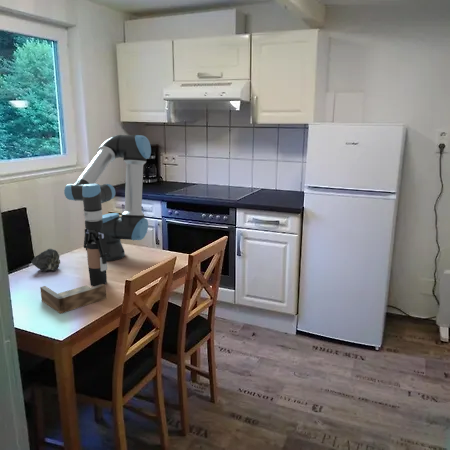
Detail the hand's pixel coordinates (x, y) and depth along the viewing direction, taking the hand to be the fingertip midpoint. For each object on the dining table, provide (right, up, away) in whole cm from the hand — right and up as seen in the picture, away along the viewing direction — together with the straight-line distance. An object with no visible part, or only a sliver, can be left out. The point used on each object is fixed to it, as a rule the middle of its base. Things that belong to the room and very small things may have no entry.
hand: (97, 267), depth 196 cm
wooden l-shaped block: (-5, -12, -15) cm, 20 cm away
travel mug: (0, -8, +2) cm, 8 cm away
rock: (-30, -4, +18) cm, 35 cm away
